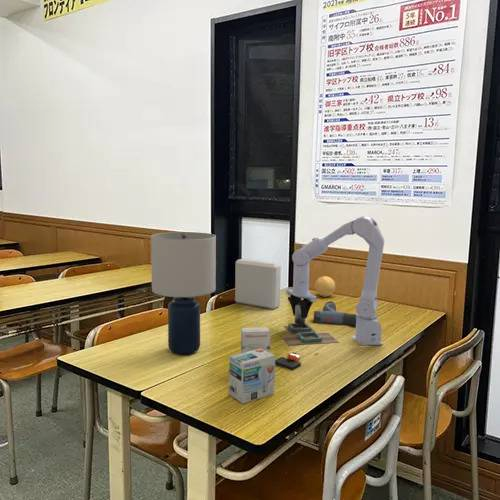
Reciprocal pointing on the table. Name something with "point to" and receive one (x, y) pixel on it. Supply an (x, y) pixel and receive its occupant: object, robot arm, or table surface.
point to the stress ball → (325, 286)
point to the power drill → (333, 315)
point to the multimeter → (289, 361)
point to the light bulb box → (251, 375)
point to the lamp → (183, 282)
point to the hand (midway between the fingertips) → (300, 316)
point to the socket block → (298, 328)
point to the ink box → (255, 339)
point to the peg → (298, 314)
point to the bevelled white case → (257, 283)
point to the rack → (309, 338)
